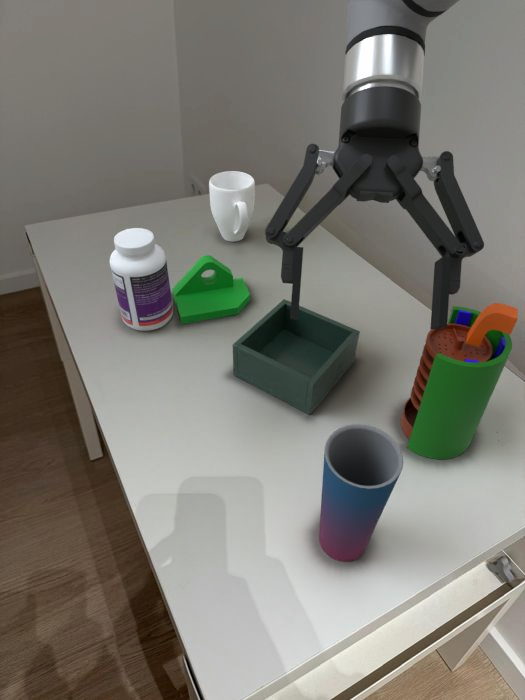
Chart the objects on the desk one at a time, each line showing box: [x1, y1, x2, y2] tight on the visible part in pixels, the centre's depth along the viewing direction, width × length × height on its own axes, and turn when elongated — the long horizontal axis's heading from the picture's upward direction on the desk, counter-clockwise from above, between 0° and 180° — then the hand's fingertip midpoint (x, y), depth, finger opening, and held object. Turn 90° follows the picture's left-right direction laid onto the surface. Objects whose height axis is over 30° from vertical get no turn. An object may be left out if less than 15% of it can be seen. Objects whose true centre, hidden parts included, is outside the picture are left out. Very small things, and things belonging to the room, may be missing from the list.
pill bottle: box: [109, 227, 174, 332], centre depth 77 cm, size 8×8×14 cm
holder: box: [232, 299, 361, 416], centre depth 72 cm, size 13×13×6 cm
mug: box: [208, 170, 256, 242], centre depth 96 cm, size 12×8×11 cm
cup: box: [318, 423, 404, 563], centre depth 50 cm, size 7×7×15 cm
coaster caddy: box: [400, 302, 519, 460], centre depth 60 cm, size 10×9×20 cm
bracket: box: [171, 254, 251, 325], centre depth 82 cm, size 12×8×7 cm, turn 107°
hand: (365, 323), depth 49 cm, fingers open, 13 cm apart
